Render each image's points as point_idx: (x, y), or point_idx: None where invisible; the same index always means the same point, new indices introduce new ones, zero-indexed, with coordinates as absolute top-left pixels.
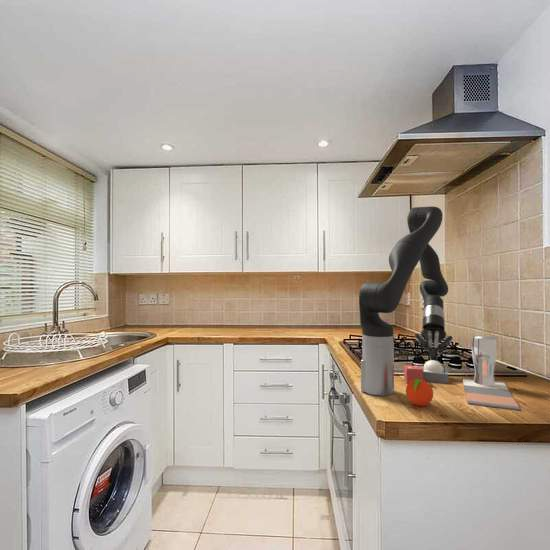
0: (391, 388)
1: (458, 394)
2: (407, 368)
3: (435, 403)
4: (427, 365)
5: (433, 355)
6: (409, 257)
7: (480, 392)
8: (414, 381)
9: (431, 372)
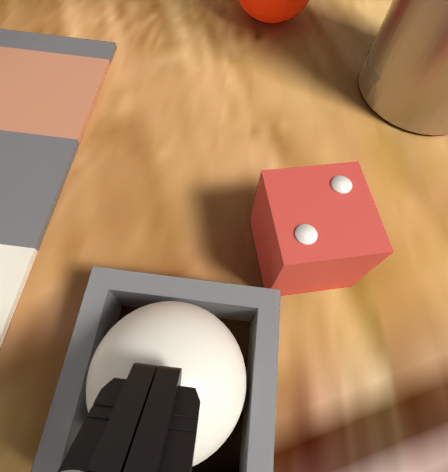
0: (371, 45)
1: (114, 128)
2: (354, 168)
3: (219, 34)
4: (220, 325)
5: (150, 373)
6: None
7: (8, 149)
8: None
9: (196, 284)
